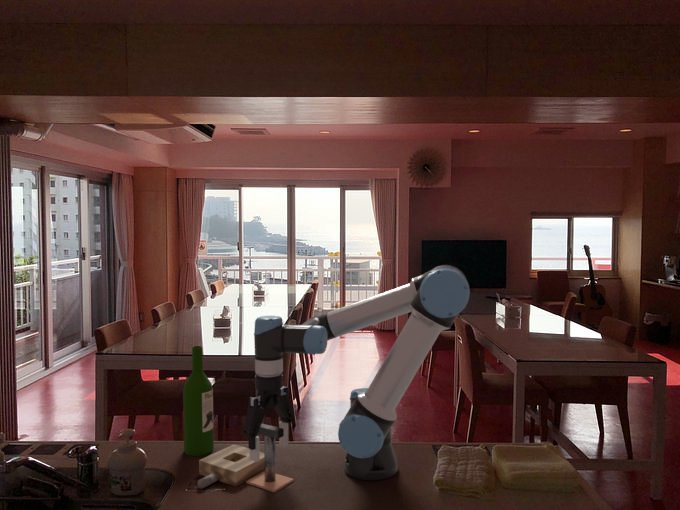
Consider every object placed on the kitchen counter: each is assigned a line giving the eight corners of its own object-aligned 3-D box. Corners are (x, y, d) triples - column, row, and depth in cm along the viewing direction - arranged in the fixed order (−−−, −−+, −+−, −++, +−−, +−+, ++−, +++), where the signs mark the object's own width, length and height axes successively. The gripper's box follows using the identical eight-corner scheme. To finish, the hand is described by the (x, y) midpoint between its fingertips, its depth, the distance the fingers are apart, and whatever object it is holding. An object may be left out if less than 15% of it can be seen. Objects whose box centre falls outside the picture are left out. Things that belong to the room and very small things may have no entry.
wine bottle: (204, 457, 173) (202, 350, 171) (178, 454, 175) (176, 349, 173) (218, 446, 181) (217, 344, 179) (193, 443, 184) (191, 343, 182)
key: (263, 474, 159) (262, 423, 159) (284, 481, 155) (284, 428, 154) (255, 478, 157) (255, 426, 156) (277, 485, 153) (277, 431, 152)
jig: (269, 467, 165) (269, 454, 165) (219, 495, 148) (219, 480, 148) (234, 457, 173) (233, 444, 172) (182, 482, 156) (182, 467, 156)
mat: (293, 481, 156) (293, 478, 156) (274, 492, 150) (274, 490, 150) (265, 472, 162) (265, 470, 162) (246, 483, 155) (246, 481, 155)
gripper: (285, 362, 166) (286, 436, 167) (227, 381, 146) (228, 464, 147) (306, 366, 162) (306, 441, 163) (249, 386, 142) (250, 471, 143)
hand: (269, 452), depth 155 cm, fingers open, 11 cm apart
